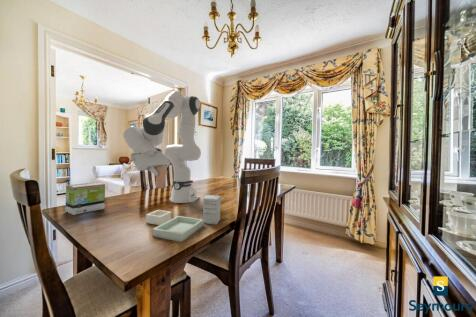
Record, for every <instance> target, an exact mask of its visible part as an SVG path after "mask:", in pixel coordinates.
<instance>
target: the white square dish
mask: <svg viewBox="0 0 476 317" xmlns="http://www.w3.org/2000/svg"><path fill="white" fill-rule="evenodd" d="M171 219H172V211H170V210H169V211H167V210H162V209H157V210H154V211H151V212H149V213H146V214H145V223H146V224H152V225H157V226H159V225H161V224H163V223H165V222H167V221H169V220H171Z"/></svg>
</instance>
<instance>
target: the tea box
mask: <svg viewBox="0 0 476 317" xmlns="http://www.w3.org/2000/svg"><path fill="white" fill-rule="evenodd" d="M105 201H106V184H105V183H101V182H87V183H86V182H85V183H75V184H74V183H73V184H66V185H65V207H64V208H65V210H64V211H65V212H66V213H67V212H68V213H67V214H70V215H72V216H76V215H80V214H85V213H91V212H94V211H100V210H104V209H105V206H106V205H105V203H106V202H105Z"/></svg>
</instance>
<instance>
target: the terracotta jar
mask: <svg viewBox="0 0 476 317" xmlns="http://www.w3.org/2000/svg"><path fill="white" fill-rule="evenodd" d="M155 170H156V171H158V172H159V173H160V174H159V175H158V176H155V188H156V189H165V188H166V180H167V176H166V175H167V174H166V171H167V168H166V167H156V169H155Z"/></svg>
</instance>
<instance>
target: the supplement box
mask: <svg viewBox="0 0 476 317" xmlns="http://www.w3.org/2000/svg"><path fill="white" fill-rule="evenodd" d="M221 199H222V197H221V195H212V194H211V195H210V194H207V195H205V197H203V199H202V200H203V201H202V202H203V204H202V219H203V220H204V224H206V225H207V224H208V225H209V224H210V225H217V224H218V223H219V221H220V220H221Z"/></svg>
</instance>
